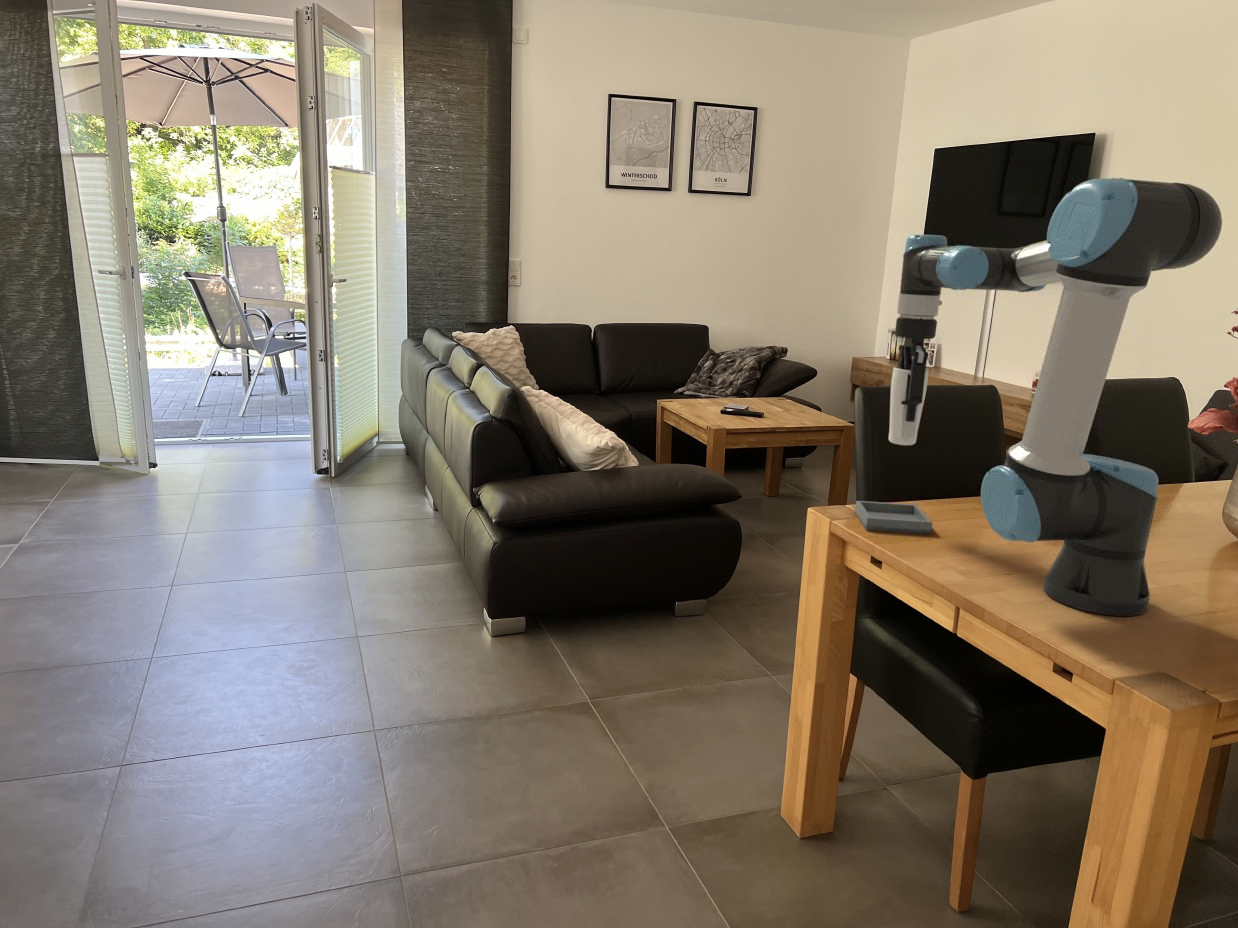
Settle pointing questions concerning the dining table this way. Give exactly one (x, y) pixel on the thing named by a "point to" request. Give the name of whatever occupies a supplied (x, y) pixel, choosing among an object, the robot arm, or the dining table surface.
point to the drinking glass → (896, 407)
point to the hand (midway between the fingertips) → (902, 433)
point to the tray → (893, 517)
